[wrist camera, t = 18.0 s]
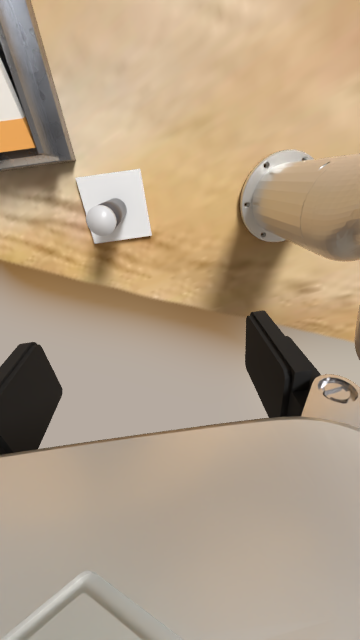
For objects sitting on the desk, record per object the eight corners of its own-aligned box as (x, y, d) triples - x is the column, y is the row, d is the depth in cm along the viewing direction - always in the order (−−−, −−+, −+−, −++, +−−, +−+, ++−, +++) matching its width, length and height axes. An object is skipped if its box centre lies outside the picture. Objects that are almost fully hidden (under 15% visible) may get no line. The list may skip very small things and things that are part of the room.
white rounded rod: (124, 196, 36) (111, 203, 25) (128, 218, 37) (118, 233, 27) (103, 199, 36) (82, 207, 25) (109, 221, 37) (91, 237, 27)
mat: (140, 168, 35) (140, 168, 34) (151, 234, 39) (151, 235, 39) (77, 177, 35) (75, 177, 34) (95, 242, 39) (94, 243, 38)
